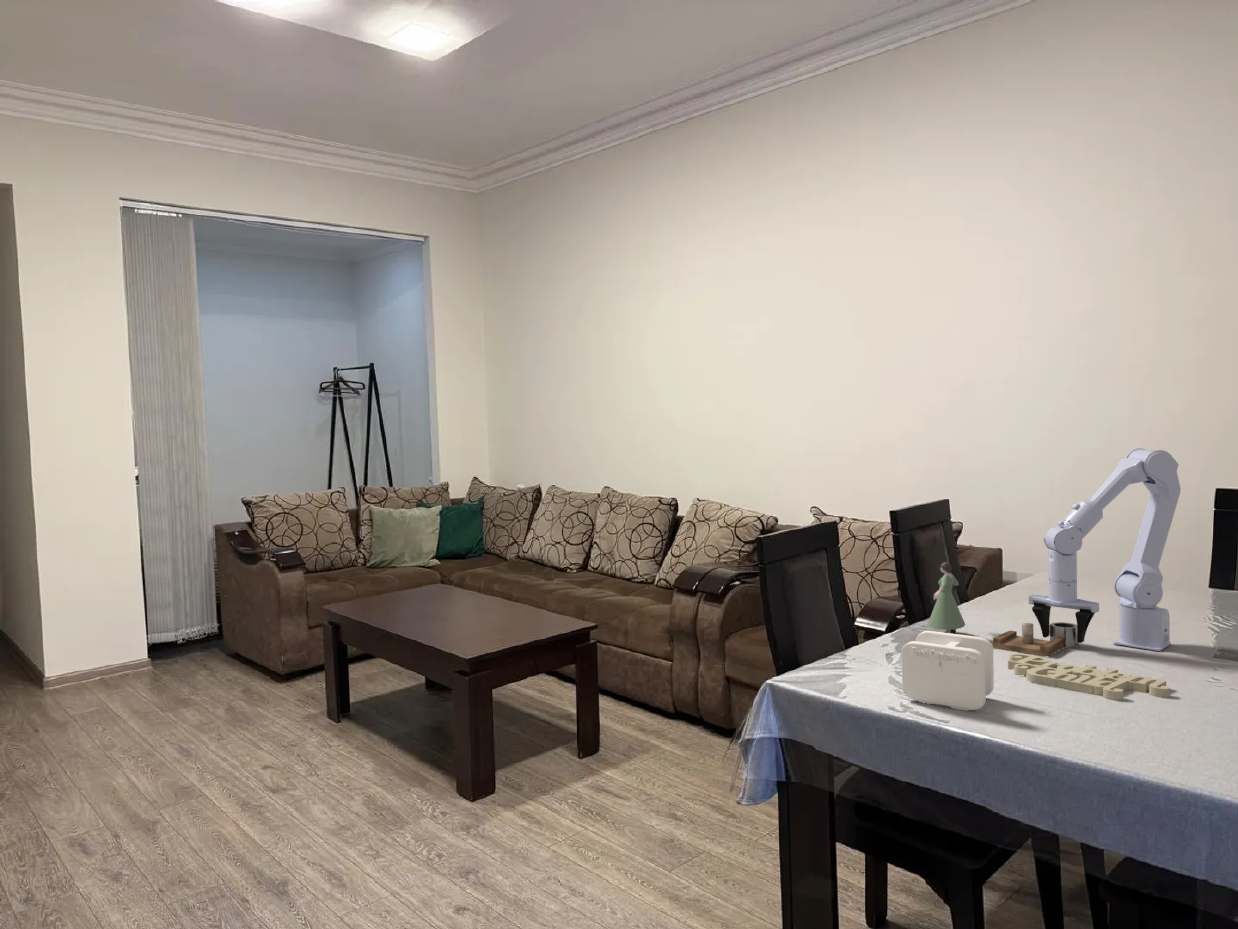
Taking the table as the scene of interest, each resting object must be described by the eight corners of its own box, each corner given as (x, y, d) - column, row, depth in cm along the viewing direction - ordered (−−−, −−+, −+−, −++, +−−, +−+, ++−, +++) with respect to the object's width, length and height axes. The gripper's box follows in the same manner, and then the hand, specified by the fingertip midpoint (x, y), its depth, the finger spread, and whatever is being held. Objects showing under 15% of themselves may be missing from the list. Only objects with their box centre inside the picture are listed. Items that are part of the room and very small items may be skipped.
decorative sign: (985, 668, 178) (1014, 652, 188) (986, 678, 178) (1014, 661, 188) (1157, 699, 156) (1178, 679, 167) (1157, 710, 156) (1178, 690, 167)
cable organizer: (999, 699, 164) (998, 639, 163) (982, 716, 156) (981, 652, 155) (919, 686, 173) (918, 629, 173) (900, 701, 165) (899, 641, 164)
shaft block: (1063, 648, 195) (1063, 624, 195) (1048, 657, 189) (1047, 632, 189) (1009, 639, 204) (1009, 616, 204) (993, 647, 198) (992, 624, 198)
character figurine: (945, 626, 219) (943, 555, 218) (978, 630, 213) (977, 558, 212) (917, 639, 207) (915, 564, 206) (951, 644, 202) (950, 568, 201)
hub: (1081, 644, 198) (1081, 624, 198) (1072, 649, 194) (1072, 629, 194) (1056, 640, 202) (1056, 621, 202) (1047, 645, 198) (1046, 625, 198)
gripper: (1022, 579, 199) (1023, 637, 200) (1091, 586, 189) (1091, 648, 190) (1035, 574, 204) (1035, 631, 205) (1102, 581, 194) (1102, 641, 195)
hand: (1063, 639), depth 198 cm, fingers open, 7 cm apart
